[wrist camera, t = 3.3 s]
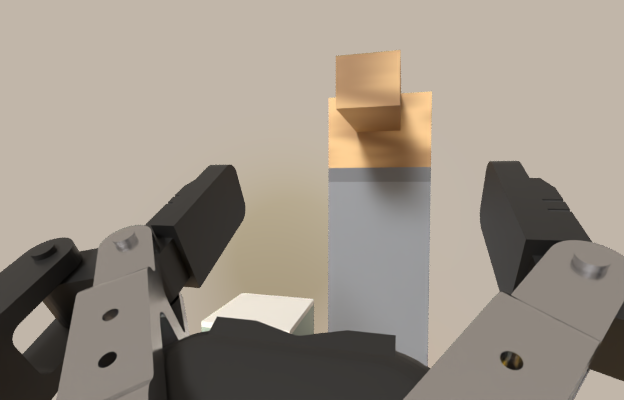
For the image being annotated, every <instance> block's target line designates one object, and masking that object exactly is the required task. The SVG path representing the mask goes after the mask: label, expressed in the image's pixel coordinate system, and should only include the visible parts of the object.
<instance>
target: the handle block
mask: <svg viewBox="0 0 624 400" xmlns="http://www.w3.org/2000/svg"><path fill="white" fill-rule="evenodd" d="M400 58H401V57H400V50H395V51H385V52H374V53H363V54H353V55H341V56H336V98H329V168H377V167H431V116H432V92H417V93H402V94H401V61H400V60H401V59H400Z"/></svg>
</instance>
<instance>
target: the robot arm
mask: <svg viewBox="0 0 624 400" xmlns="http://www.w3.org/2000/svg"><path fill="white" fill-rule="evenodd" d="M244 216H245V202H244V198H243V195H242V191H241V187H240V184H239V180H238V176H237V173H236V170H235V168H234V167H233V166H232V165H210V166H208V167H207V168H206V169H205V170H204V171H203V172H202V173H201V175H199V177H197V179H196V180H194V181H192V182H191V183H189V184H187V185H185V186H184V187H183V188H182V189H181V190H180V191H179V192H178V193H177V194H176V195H175V197H173V198H172V199H171V200H170V201H169V202H168V204H166V205H165V206H164V207H163V208H162V209H161V210H160V211H159V212H158V213H157V214H156V215H155V216H154V217H153V218H152V219H151V220H150V221H149V222H148V223H147V224H146V225H135V226H129V227H126V228H123V229H121V230H118V231H116V232H115V233H113V234H111V235H109V236H108V237H107V238H105V240H103V241H102V243H101V244H100V246H99V248H97V249H91V250H86V251H81V252H79V250H78V249H77V247H76V246H75V244H74V243H73V241H72V240H71V239H69V238H57V239H53V240H49V241H46V242H44V243H41V244H39V245H37V246H35V247H33V248H32V249H30V250H28V251H27V252H26V253H24V254H23V255H22V256H21V257H19V258H18V259H17V260H16V261H14V262H13V263H12V264H11V265H9V266H8V267H7V268H6V269H4V270H3V271H2V272H1V273H0V400H52V398H53V397H54V396H55V394H56V393H57V392H58V394H57V399H56V400H574V398H575V396H576V395H577V393H578V391H579V389H580V387H581V385H582V383H583V381H584V380H585V378H586V376H587V374H588V373H589V371H590V369H591V370H594V371H597V372H600V373H602V374H605V375H608V376H611V377H614V378H616V379H619V380H622V381H624V256H623V255H621V254H619V253H618V252H616V251H614V250H612V249H610V248H608V247H605V246H603V245H599V244H596V243H592V241H591V240H590V238H589V237H588V235H587V234H586V232H585V231H584V229H583V228H582V226H581V225H580V224H579V222H578V221H577V219H576V218H575V216H574V215H573V213H572V212H570V209H569V207H568V206H567V204H566V203H565V202H563V198H562V197H561V196H560V194H559V193H558V191H557V190H556V188H555V187H553V186H551V185H550V184H548V183H547V182H545V181H544V180H542V179H541V178H529V176H528V175H527V173H526V172H525V170H524V168H523V166H522V165H521V163H520V162H519V161H490V162H489V163H488V165H487V169H486V175H485V182H484V188H483V195H482V201H481V208H480V223H481V229H482V232H483V236H484V239H485V243H486V246H487V249H488V253H489V256H490V259H491V263H492V266H493V270H494V273H495V276H496V280H497V284H498V287H499V290H500V292H499V293H498V294H497V295H496V296H495V297H494V298H493V299H492V300H491V301H490V302H489V303H488V305H487V306H486V307H485V308H484V309H483V310H482V311H481V312H480V313H479V315H478V316H477V317H476V318H475V319H474V320H473V321H472V323H471V324H470V325H469V326H468V327H467V328H466V329H465V330H464V332H463V333H462V334H461V335H460V336H459V337H458V338H457V339H456V341H455V342H454V343H453V344H452V345H451V346H450V347H449V348H448V350H447V351H446V352H445V353H444V354H443V355H442V356H441V357H440V359H439V360H438V361H437V362H436V363H435V364H434V365H433V366H432V368H431V369H430V368H429V367H427V366H426V365H424V364H422V363H421V362H419V361H418V360H416V359H414V358H412V357H410V356H408V355H406V354H403V353H401V352H398V351H396V335H388V334H379V333H369V332H360V331H350V330H344V331H336V332H328V333H319V334H311V335H302V336H298V335H293V334H291V333H288V332H285V331H283V330H280V329H277V328H275V327H272V326H270V325H267V324H264V323H262V322H259V321H256V320H246V319H237V318H227V317H218V316H217V318H216V319H215V321H214V323H213V325H212V327H211V329H210V331H204V332H201V333H196V334H193V335H190V334H189V329H188V323H187V317H186V312H185V306H184V301H183V297H182V295H181V293H180V291H181V289H182V288H183V287H194V288H200V287H201V285H202V284H203V282H204V281H205V279H206V277H207V276H208V274H209V273H210V271H211V270H212V268H213V266H214V265H215V263H216V262H217V260H218V259H219V257H220V256H221V254H222V252H223V251H224V249H225V248H226V246H227V244H228V243H229V241H230V240H231V238H232V237H233V235H234V233H235V232H236V230H237V229H238V227H239V226H240V224H241V223H242V221H243V219H244ZM42 301H43V302H44V304H45V305H46V306H47V307H48V309H49V310H50V311H51V313H52V314H53V315H54V316H55V318H56V319H55V320H54V321H53V322H52V323H51V324H50V325H49V326H48V328H47V329H46V330H45V331H44V332H43V333H42V334H41V335H40V336H39V337H38V338H37V339H36V340H35V341H34V343H33V344H32V345H31V346H30V347H29V348H28V349H27V350H26V351H25V352H24V353H23V354H21V353H20V352H19V351H18V350H17V349H16V348H15V346H14V345H13V341H12V337H13V333H14V331H15V329H16V327H17V326H18V325H19V323H20V322H22V320H24V318H26V316H28V315H29V314H30V313H31V312H32V311H33V309H35V308H36V307H37V306H38V305H39V304H40V303H41V302H42Z"/></svg>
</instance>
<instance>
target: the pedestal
mask: <svg viewBox="0 0 624 400" xmlns="http://www.w3.org/2000/svg"><path fill="white" fill-rule="evenodd" d="M217 316H218V317H227V318H237V319H246V320H256V321H259V322H262V323H264V324H267V325H270V326H272V327H275V328H277V329H280V330H283V331H285V332H288V333H291V334H293V335H298V336H302V335H311V334H314V299H306V298H295V297H283V296H272V295H259V294H248V293H242V294H240V295H239V296H237V297H236V298H234V299H233V300H232V301H230V302H229V303H227V304H226V305H224V306H223V307H221V308H220V309H218V310H217V311H216V312H214V313H213V314H211V315H210V316H208V317H207V318H205V319H204V320H202V322H201V323H202V332H204V331H210V329H211V327H212V325H213V323H214V321H215V319H216V318H217Z"/></svg>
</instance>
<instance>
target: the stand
mask: <svg viewBox="0 0 624 400" xmlns="http://www.w3.org/2000/svg"><path fill="white" fill-rule="evenodd" d="M430 178H431V167H377V168H329V261H328V262H329V267H328V268H329V271H328V272H329V273H328V274H329V275H328V280H329V281H328V282H329V285H328V288H329V289H328V290H329V291H328V295H329V296H328V304H329V305H328V332H336V331H344V330H350V331H360V332H369V333H379V334H388V335H396V351H398V352H401V353H403V354H406V355H408V356H410V357H412V358H414V359H416V360H418V361H419V362H421V363H422V364H424V365H426V366H428V362H427V361H428V304H429V242H430V241H429V240H430Z"/></svg>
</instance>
